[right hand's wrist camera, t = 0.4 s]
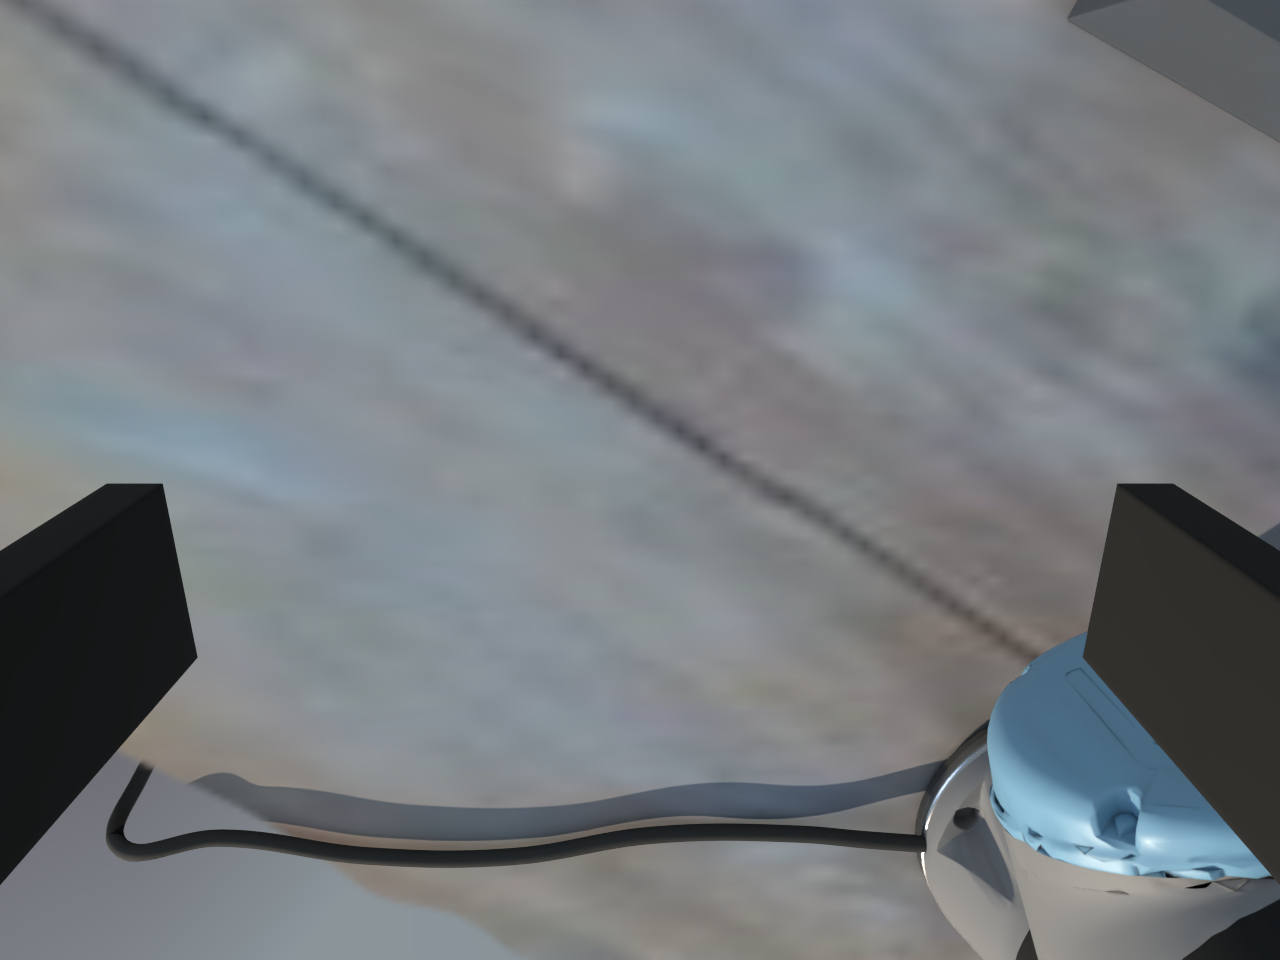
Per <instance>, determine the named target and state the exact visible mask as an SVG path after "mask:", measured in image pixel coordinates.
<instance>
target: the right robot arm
mask: <svg viewBox="0 0 1280 960" xmlns="http://www.w3.org/2000/svg"><path fill="white" fill-rule="evenodd" d="M197 658H198V657H197V652H196V648H195V643H194V638H193V633H192V628H191V623H190V618H189V613H188V608H187V603H186V598H185V593H184V588H183V583H182V578H181V573H180V568H179V563H178V558H177V553H176V548H175V543H174V538H173V533H172V528H171V523H170V518H169V513H168V508H167V503H166V498H165V493H164V488H163V484H106V485H104V486H102V487H101V488H99V489H98V490H96V491H94V492H93V493H91V494H90V495H88V496H87V497H85V498H83V499H82V500H80V501H79V502H77V503H75V504H74V505H72V506H71V507H69V508H68V509H66V510H64V511H63V512H61V513H60V514H58V515H56V516H55V517H53V518H52V519H50V520H48V521H47V522H45V523H44V524H42V525H41V526H39V527H37V528H36V529H34V530H33V531H31V532H29V533H28V534H26V535H25V536H23V537H22V538H20V539H18V540H17V541H15V542H14V543H12V544H10V545H9V546H7V547H6V548H4V549H3V550H1V551H0V885H1V883H2V882H3V881H4V880H5V879H6V878H7V877H8V875H9V874H10V873H11V872H12V871H13V870H14V868H15V867H16V866H17V865H18V864H19V863H20V862H21V860H22V859H23V858H24V857H25V856H26V855H27V853H28V852H29V851H30V850H31V849H32V848H33V847H34V845H35V844H36V843H37V842H38V841H39V840H40V839H41V837H42V836H43V835H44V834H45V833H46V832H47V830H48V829H49V828H50V827H51V826H52V825H53V824H54V822H55V821H56V820H57V819H58V818H59V817H60V815H61V814H62V813H63V812H64V811H65V810H66V809H67V807H68V806H69V805H70V804H71V803H72V802H73V800H74V799H75V798H76V797H77V796H78V795H79V794H80V792H81V791H82V790H83V789H84V788H85V787H86V785H87V784H88V783H89V782H90V781H91V780H92V779H93V777H94V776H95V775H96V774H97V773H98V772H99V771H100V769H101V768H102V767H103V766H104V765H105V764H106V762H107V761H108V760H109V759H110V758H111V757H112V756H113V754H114V753H115V752H116V751H117V750H118V749H119V747H120V746H121V745H122V744H123V743H124V742H125V741H126V739H127V738H128V737H129V736H130V735H131V734H132V732H133V731H134V730H135V729H136V728H137V727H138V726H139V724H140V723H141V722H142V721H143V720H144V719H145V717H146V716H147V715H148V714H149V713H150V712H151V711H152V709H153V708H154V707H155V706H156V705H157V704H158V703H159V701H160V700H161V699H162V698H163V697H164V696H165V694H166V693H167V692H168V691H169V690H170V689H171V688H172V686H173V685H174V684H175V683H176V682H177V681H178V679H179V678H180V677H181V676H182V675H183V674H184V673H185V671H186V670H187V669H188V668H189V667H190V666H191V664H192V663H193V662H194V661H195V660H196V659H197ZM1082 658H1083V659H1084V660H1085V661H1086V662H1087V663H1088V664H1089V666H1090V667H1091V668H1092V669H1093V670H1094V671H1095V673H1096V674H1097V675H1098V676H1099V677H1100V678H1101V679H1102V681H1103V682H1104V683H1105V684H1106V685H1107V686H1108V688H1109V689H1110V690H1111V691H1112V692H1113V693H1114V694H1115V696H1116V697H1117V698H1118V699H1119V700H1120V701H1121V703H1122V704H1123V705H1124V706H1125V707H1126V708H1127V709H1128V711H1129V712H1130V713H1131V714H1132V715H1133V716H1134V717H1135V719H1136V720H1137V721H1138V722H1139V723H1140V724H1141V726H1142V727H1143V728H1144V729H1145V730H1146V731H1147V732H1148V734H1149V735H1150V736H1151V737H1152V738H1153V739H1154V741H1155V742H1156V743H1157V744H1158V745H1159V746H1160V747H1161V749H1162V750H1163V751H1164V752H1165V753H1166V754H1167V756H1168V757H1169V758H1170V759H1171V760H1172V761H1173V762H1174V764H1175V765H1176V766H1177V767H1178V768H1179V769H1180V771H1181V772H1182V773H1183V774H1184V775H1185V776H1186V777H1187V779H1188V780H1189V781H1190V782H1191V783H1192V784H1193V786H1194V787H1195V788H1196V789H1197V790H1198V791H1199V792H1200V794H1201V795H1202V796H1203V797H1204V798H1205V799H1206V800H1207V802H1208V803H1209V804H1210V805H1211V806H1212V807H1213V809H1214V810H1215V811H1216V812H1217V813H1218V814H1219V815H1220V817H1221V818H1222V819H1223V820H1224V821H1225V822H1226V824H1227V825H1228V826H1229V827H1230V828H1231V829H1232V830H1233V832H1234V833H1235V834H1236V835H1237V836H1238V837H1239V839H1240V840H1241V841H1242V842H1243V843H1244V844H1245V845H1246V847H1247V848H1248V849H1249V850H1250V851H1251V852H1252V854H1253V855H1254V856H1255V857H1256V858H1257V859H1258V860H1259V862H1260V863H1261V864H1262V865H1263V866H1264V867H1265V869H1266V870H1267V871H1268V872H1269V873H1270V874H1271V875H1272V877H1273V878H1274V879H1275V880H1276V881H1277V882H1278V883H1279V885H1280V551H1279V550H1277V549H1276V548H1274V547H1273V546H1271V545H1270V544H1268V543H1266V542H1265V541H1263V540H1262V539H1260V538H1258V537H1257V536H1255V535H1254V534H1252V533H1251V532H1249V531H1247V530H1246V529H1244V528H1243V527H1241V526H1239V525H1238V524H1236V523H1235V522H1233V521H1232V520H1230V519H1228V518H1227V517H1225V516H1224V515H1222V514H1220V513H1219V512H1217V511H1216V510H1214V509H1212V508H1211V507H1209V506H1208V505H1206V504H1205V503H1203V502H1201V501H1200V500H1198V499H1197V498H1195V497H1193V496H1192V495H1190V494H1189V493H1187V492H1186V491H1184V490H1182V489H1181V488H1179V487H1178V486H1176V485H1174V484H1117V488H1116V493H1115V498H1114V503H1113V508H1112V513H1111V518H1110V523H1109V528H1108V533H1107V538H1106V543H1105V548H1104V553H1103V558H1102V563H1101V568H1100V573H1099V578H1098V583H1097V588H1096V593H1095V598H1094V603H1093V608H1092V613H1091V618H1090V623H1089V628H1088V633H1087V638H1086V643H1085V648H1084V652H1083V657H1082Z"/></svg>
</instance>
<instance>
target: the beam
mask: <svg viewBox="0 0 1280 960" xmlns="http://www.w3.org/2000/svg"><path fill="white" fill-rule="evenodd" d="M1067 20H1068V21H1069V22H1071V23H1073V24H1074V25H1076V26H1078V27H1080V28H1081V29H1083V30H1085V31H1087V32H1088V33H1090V34H1092V35H1094V36H1095V37H1097V38H1099V39H1101V40H1102V41H1104V42H1106V43H1108V44H1109V45H1111V46H1113V47H1115V48H1116V49H1118V50H1120V51H1122V52H1123V53H1125V54H1127V55H1129V56H1130V57H1132V58H1134V59H1135V60H1137V61H1139V62H1141V63H1142V64H1144V65H1146V66H1148V67H1149V68H1151V69H1153V70H1155V71H1156V72H1158V73H1160V74H1162V75H1163V76H1165V77H1167V78H1169V79H1170V80H1172V81H1174V82H1176V83H1177V84H1179V85H1181V86H1183V87H1184V88H1186V89H1188V90H1189V91H1191V92H1193V93H1195V94H1196V95H1198V96H1200V97H1202V98H1203V99H1205V100H1207V101H1209V102H1210V103H1212V104H1214V105H1216V106H1217V107H1219V108H1221V109H1223V110H1224V111H1226V112H1228V113H1230V114H1231V115H1233V116H1235V117H1237V118H1238V119H1240V120H1242V121H1243V122H1245V123H1247V124H1249V125H1250V126H1252V127H1254V128H1256V129H1257V130H1259V131H1261V132H1263V133H1264V134H1266V135H1268V136H1270V137H1271V138H1273V139H1275V140H1277V141H1278V142H1280V0H1078V1H1077V3H1076V4H1075V6H1074V8H1073V10H1072V11H1071V13H1070V15H1069V17H1068V19H1067Z"/></svg>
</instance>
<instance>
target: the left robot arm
mask: <svg viewBox="0 0 1280 960" xmlns="http://www.w3.org/2000/svg"><path fill="white" fill-rule="evenodd" d="M1087 633H1088V632H1086V633H1083V634H1080V635H1078V636H1076V637H1073V638H1071V639H1069V640H1067V641H1066V642H1064V643H1062V644H1060V645H1058V646H1056V647H1054V648H1052V649H1050V650H1048V651H1047V652H1045V653H1044V654H1042V655H1041V656H1039V657H1038V658H1036V659H1035V660H1033V661H1032V662H1030V663H1029V665H1028V666H1027V667H1026V668H1025V670H1024V671H1023V673H1022V675H1021V676H1020V677H1018V678H1017V679H1016V680H1014V681H1013V682H1010V684H1009V685H1008V686H1007V687H1006V688H1005V689H1004V691H1003V692H1002V693H1001V695H1000V697H999V698H998V700H997V702H996V704H995V707H994V709H993V711H992V714H991V718H990V722H989V726H988V727H987V728H985V729H983V730H982V731H980V732H979V733H978V734H976V735H975V736H973V737H972V738H970V739H969V740H968V741H967V742H966V743H964V744H963V745H962V746H961V747H960V748H958V749H957V750H956V751H955V752H954V753H953V754H952V755H951V756H950V757H949V758H948V760H947V761H946V762H945V763H944V764H943V765H942V766H941V768H940V769H939V771H938V772H937V773H936V775H935V776H934V778H933V779H932V781H931V783H930V784H929V786H928V788H927V790H926V792H925V794H924V797H923V799H922V801H921V804H920V808H919V811H918V815H917V820H916V828H915V835H910V834H896V833H882V832H869V831H857V830H846V829H837V828H826V827H814V826H795V825H768V824H687V825H669V826H655V827H644V828H635V829H627V830H621V831H614V832H609V833H603V834H598V835H593V836H588V837H583V838H578V839H573V840H567V841H562V842H557V843H551V844H544V845H538V846H529V847H519V848H507V849H490V850H464V851H435V850H406V849H387V848H371V847H358V846H349V845H340V844H333V843H327V842H320V841H314V840H309V839H303V838H297V837H292V836H286V835H279V834H273V833H265V832H256V831H245V830H206V831H199V832H193V833H188V834H184V835H180V836H176V837H172V838H168V839H165V840H161V841H157V842H153V843H148V844H135V843H132V842H130V841H128V840H127V839H126V837H125V835H124V826H125V823H126V821H127V818H128V816H129V814H130V812H131V810H132V808H133V807H134V805H135V803H136V801H137V799H138V798H139V796H140V794H141V792H142V790H143V789H144V787H145V785H146V783H147V781H148V779H149V777H150V775H151V773H152V771H153V769H154V767H151V766H149V765H147V764H145V763H143V762H140V763H139V765H138V767H137V769H136V770H135V772H134V774H133V776H132V778H131V780H130V782H129V783H128V785H127V787H126V789H125V790H124V792H123V794H122V795H121V797H120V799H119V801H118V802H117V804H116V806H115V808H114V810H113V812H112V814H111V816H110V818H109V821H108V824H107V828H106V843H107V845H108V847H109V849H110V850H111V851H112V852H113V853H114V854H115V855H116V856H117V857H119V858H121V859H123V860H126V861H136V862H138V861H147V860H152V859H157V858H161V857H165V856H169V855H173V854H177V853H180V852H184V851H188V850H193V849H198V848H204V847H240V848H251V849H260V850H268V851H274V852H281V853H286V854H293V855H298V856H304V857H310V858H315V859H322V860H328V861H336V862H344V863H354V864H366V865H383V866H402V867H428V868H465V867H490V866H507V865H519V864H529V863H538V862H544V861H551V860H557V859H563V858H568V857H573V856H578V855H583V854H588V853H593V852H598V851H604V850H609V849H615V848H621V847H628V846H636V845H645V844H655V843H669V842H687V841H771V842H796V843H815V844H827V845H836V846H846V847H856V848H867V849H880V850H893V851H907V852H917V857H918V860H919V863H920V866H921V869H922V872H923V874H924V877H925V879H926V882H927V884H928V887H929V889H930V891H931V893H932V895H933V897H934V898H935V900H936V902H937V903H938V905H939V907H940V909H941V910H942V912H943V913H944V915H945V916H946V918H947V919H948V921H949V922H950V923H951V924H952V925H953V926H954V928H955V929H956V930H957V931H958V932H959V933H960V934H961V935H962V937H963V938H964V939H965V940H966V941H967V942H968V943H969V944H970V945H971V947H972V948H973V949H974V950H975V951H976V952H977V953H978V954H979V956H980V957H981V958H982V959H983V960H1280V885H1279V883H1278V882H1277V881H1276V880H1275V879H1274V878H1273V877H1272V875H1271V874H1270V873H1269V872H1268V871H1267V870H1266V869H1265V867H1264V866H1263V865H1262V864H1261V863H1260V862H1259V860H1258V859H1257V858H1256V857H1255V856H1254V855H1253V854H1252V852H1251V851H1250V850H1249V849H1248V848H1247V847H1246V845H1245V844H1244V843H1243V842H1242V841H1241V840H1240V839H1239V837H1238V836H1237V835H1236V834H1235V833H1234V832H1233V830H1232V829H1231V828H1230V827H1229V826H1228V825H1227V824H1226V822H1225V821H1224V820H1223V819H1222V818H1221V817H1220V815H1219V814H1218V813H1217V812H1216V811H1215V810H1214V809H1213V807H1212V806H1211V805H1210V804H1209V803H1208V802H1207V800H1206V799H1205V798H1204V797H1203V796H1202V795H1201V794H1200V792H1199V791H1198V790H1197V789H1196V788H1195V787H1194V786H1193V784H1192V783H1191V782H1190V781H1189V780H1188V779H1187V777H1186V776H1185V775H1184V774H1183V773H1182V772H1181V771H1180V769H1179V768H1178V767H1177V766H1176V765H1175V764H1174V762H1173V761H1172V760H1171V759H1170V758H1169V757H1168V756H1167V754H1166V753H1165V752H1164V751H1163V750H1162V749H1161V747H1160V746H1159V745H1158V744H1157V743H1156V742H1155V741H1154V739H1153V738H1152V737H1151V736H1150V735H1149V734H1148V732H1147V731H1146V730H1145V729H1144V728H1143V727H1142V726H1141V724H1140V723H1139V722H1138V721H1137V720H1136V719H1135V717H1134V716H1133V715H1132V714H1131V713H1130V712H1129V711H1128V709H1127V708H1126V707H1125V706H1124V705H1123V704H1122V703H1121V701H1120V700H1119V699H1118V698H1117V697H1116V696H1115V694H1114V693H1113V692H1112V691H1111V690H1110V689H1109V688H1108V686H1107V685H1106V684H1105V683H1104V682H1103V681H1102V679H1101V678H1100V677H1099V676H1098V675H1097V674H1096V673H1095V671H1094V670H1093V669H1092V668H1091V667H1090V666H1089V664H1088V663H1087V662H1086V661H1085V660H1084V659H1083V658H1082V657H1083V652H1084V648H1085V643H1086V638H1087Z"/></svg>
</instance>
